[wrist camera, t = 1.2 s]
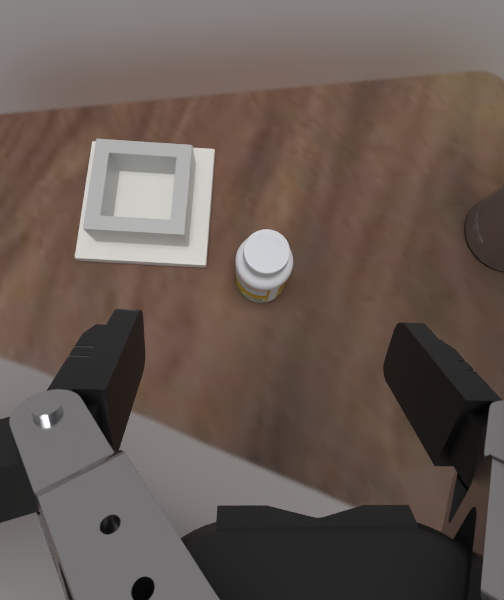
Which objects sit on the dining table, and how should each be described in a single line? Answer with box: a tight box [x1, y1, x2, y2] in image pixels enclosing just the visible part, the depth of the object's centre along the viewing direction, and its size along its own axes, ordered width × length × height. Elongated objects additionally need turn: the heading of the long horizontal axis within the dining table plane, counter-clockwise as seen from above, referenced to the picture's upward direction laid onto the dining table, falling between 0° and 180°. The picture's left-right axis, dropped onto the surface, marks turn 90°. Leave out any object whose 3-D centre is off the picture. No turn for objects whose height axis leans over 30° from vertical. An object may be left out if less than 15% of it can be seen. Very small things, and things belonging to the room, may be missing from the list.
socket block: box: [75, 139, 215, 268], centre depth 40 cm, size 14×14×4 cm
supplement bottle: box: [236, 229, 293, 303], centre depth 36 cm, size 5×5×10 cm
